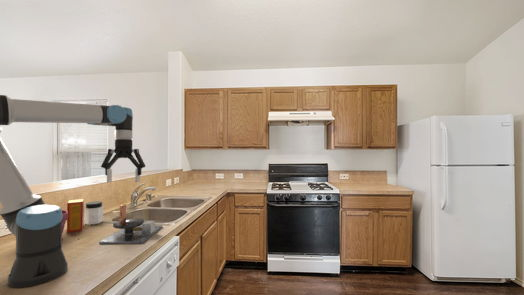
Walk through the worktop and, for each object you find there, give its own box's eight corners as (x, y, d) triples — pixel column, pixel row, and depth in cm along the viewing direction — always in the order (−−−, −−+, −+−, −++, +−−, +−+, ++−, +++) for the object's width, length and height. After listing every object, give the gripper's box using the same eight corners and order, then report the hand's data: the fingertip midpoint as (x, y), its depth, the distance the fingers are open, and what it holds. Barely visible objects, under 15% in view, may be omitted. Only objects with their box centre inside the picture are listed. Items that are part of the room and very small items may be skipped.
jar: (84, 225, 138) (84, 204, 138) (85, 222, 145) (85, 202, 145) (102, 223, 143) (103, 203, 143) (102, 219, 150) (103, 200, 150)
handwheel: (142, 237, 116) (143, 205, 116) (106, 237, 115) (106, 205, 116) (154, 227, 130) (155, 199, 131) (122, 227, 130) (122, 199, 130)
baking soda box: (69, 227, 134) (69, 199, 134) (83, 225, 137) (84, 198, 138) (66, 232, 126) (67, 202, 126) (82, 230, 130) (82, 201, 130)
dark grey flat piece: (142, 243, 111) (143, 229, 111) (99, 244, 111) (99, 230, 111) (162, 227, 135) (162, 215, 135) (126, 227, 135) (126, 215, 135)
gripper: (152, 139, 122) (152, 181, 122) (102, 139, 121) (102, 181, 121) (146, 138, 114) (145, 183, 114) (92, 138, 113) (92, 183, 113)
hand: (123, 182), depth 117 cm, fingers open, 13 cm apart
